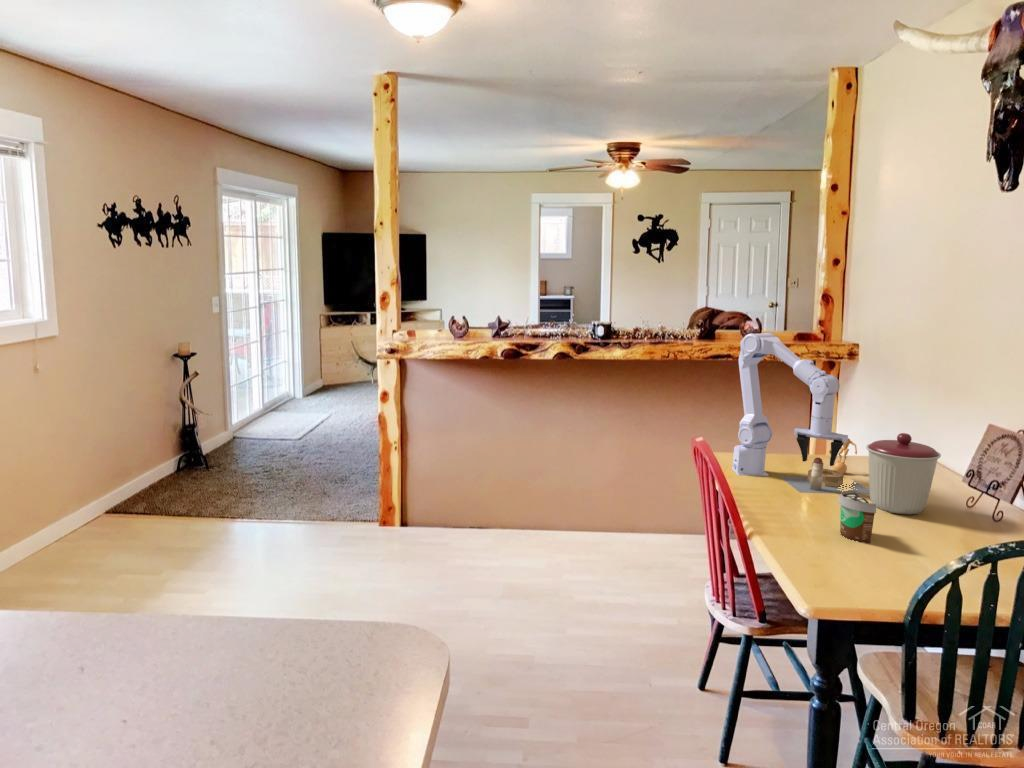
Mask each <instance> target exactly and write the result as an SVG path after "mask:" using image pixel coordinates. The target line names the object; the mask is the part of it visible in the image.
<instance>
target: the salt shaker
mask: <svg viewBox="0 0 1024 768" xmlns="http://www.w3.org/2000/svg"><path fill="white" fill-rule="evenodd" d="M824 464H825V463H824V461H823V459H822V458H820V457H815V458H814V460H813V461H812V463H811V469H812V474H811V485H810V489H811V490H815V491H821V486H822V475H823V469H824Z"/></svg>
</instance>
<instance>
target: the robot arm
mask: <svg viewBox="0 0 1024 768" xmlns="http://www.w3.org/2000/svg"><path fill="white" fill-rule="evenodd" d="M739 344H740V352H739V356H738V369H739V370H738V371H739V377H740V388H741V395H742V405H743V413H744V416H743V417H742V418H741V420H740V421H739V422H738V423H739V428H738V432H737V435H738V436H737V437H738V440H739V442H740V444H739V445H738V444H736V445H735V446H734V448H733V455H732V466H731V470H732V471H734V473H736V475H738V476H754V477H755V476H757V477H758V476H761V477H763V476H765V477H769V476H770V475H769V473H767V472H766V471H765V469H766V468H765V467H766V457H767V455H766V454H767V446H768V445H769V444H768V442H770V441H771V440H772V437H773V430H772V428H771V426H770V424H769V419H768V418H767V417H766V415H764V414H763V406H762V405H763V404H762V397H761V396H762V395H761V386H760V378H759V377H760V376H759V369H758V367H759V366H758V364H759V363H760V362H761V361H762V360H763V358H765V357H766V356H767V355H773V356H775V357H776V358H777V359H779V360H780V361H782V362H783V363H784V364H786V365H787V366H789V367H790V368H792V369H793V375H794V376H795V377H797V378H798V379H799V380H800V381H802V382H803V383H805V384H806V385H807V386H808V387H809V391H810V392H811V394H812V398H811V399H812V409H811V418H810V419H811V420H810V428H809V429H808V428H799V427H796V428H794V429H793V430H794V431H793V436H797V437H796V442H797V444H798V446H799V449H800V453H801V458H802V462H806V461H807V460H808V454H809V453H808V452H809V451H808V450H809V443H810V438H814V439H818V440H819V439H822V440H827V441H831V442H830V458H829V459H830V460H829V467H834V465H835V464H836V463H835V462H836V459H837V456H838V455H839V454H838V453H839V451H840V449H841V447H842V448H843V444H844V443H846V442H847V441H848V438H849V435H848V434H843V433H837V432H834V431H833V420H834V419H833V418H834V408H835V407H834V406H835V396H836V394H837V393H838V392H839V391H840V389H841V388H840V381H839V379H838V378H837V377H836V376H835V374H834V375H833V374H826V372H827V371H825V370H824V369H823V370H821V368H819V366H817V365H815V364H814V361H813V359H812V360H811V359H807V358H806V359H805V358H804V359H801V358H800V357H799V356H797V354H795V353H794V352H793V351H792V350H790V349H789V348H788V347H787V346H786V345H785V344H784V343H783V342H782V341H781V340H780V338H779V337H777V336H776V335H774V334H773V332H772V333H771V332H763V333H747V334H746V335H745V336H744V337H743V338H742V339H741V341H740V342H739Z"/></svg>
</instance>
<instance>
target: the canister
mask: <svg viewBox="0 0 1024 768" xmlns="http://www.w3.org/2000/svg"><path fill="white" fill-rule="evenodd" d="M865 448H866V450H867V451H868V483H869V485H868V486H869V487H868V488H869V489H868V490H870V494H869V498H870V501H871V504H876V509H880V510H882V511H885V512H889V513H891V514H896V515H897V514H898V515H899V514H900V515H916V514H919V513H921V512H923V510H924V509H925V508H926V505H927V503H928V499H929V497H930V496H929V495H930V492H931V487H932V484H933V479H934V476H935V472H936V468H937V463H938V459H940V458H941V457H942V455H941V454H942V453H940V452H939V451H937V450H936V449H935V448H933V447H932V446H929V445H926V444H923V443H920V442H919V443H918V442H914V441H912V436H911V434H909V433H905V432H901V433H899V434H897V436H896V439H883V440H882V439H880V440H876V441H873V442H872V443H868V444H866V447H865Z"/></svg>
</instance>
